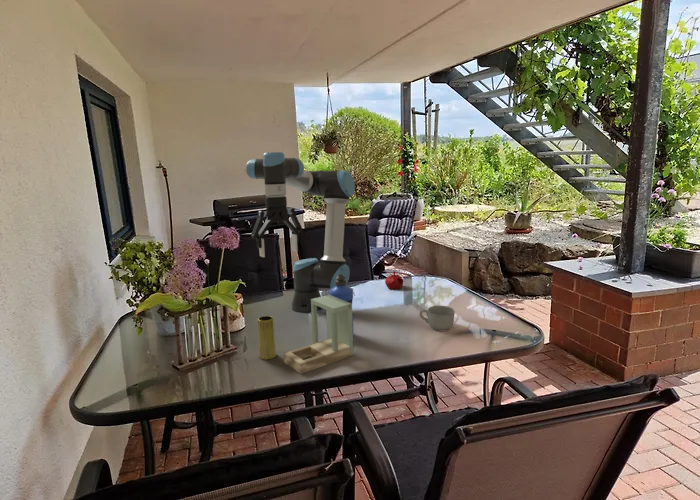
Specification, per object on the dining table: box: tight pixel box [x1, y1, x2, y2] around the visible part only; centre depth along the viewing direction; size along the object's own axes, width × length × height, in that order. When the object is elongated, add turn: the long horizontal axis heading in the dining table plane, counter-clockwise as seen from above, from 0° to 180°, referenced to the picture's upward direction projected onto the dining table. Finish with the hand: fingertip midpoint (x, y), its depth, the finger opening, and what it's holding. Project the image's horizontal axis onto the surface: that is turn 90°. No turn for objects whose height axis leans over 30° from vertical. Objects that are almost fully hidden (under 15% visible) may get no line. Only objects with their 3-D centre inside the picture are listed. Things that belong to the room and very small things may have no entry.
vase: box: [257, 315, 277, 360], centre depth 156 cm, size 6×6×14 cm
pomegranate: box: [384, 270, 404, 290], centre depth 237 cm, size 10×10×9 cm
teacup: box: [418, 305, 455, 331], centre depth 179 cm, size 14×11×8 cm
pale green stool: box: [310, 294, 354, 356], centre depth 158 cm, size 14×8×19 cm, turn 38°
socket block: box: [283, 338, 352, 375], centre depth 153 cm, size 11×20×4 cm, turn 128°
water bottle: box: [328, 275, 355, 338], centre depth 171 cm, size 9×9×25 cm
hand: (279, 254), depth 162 cm, fingers open, 13 cm apart
